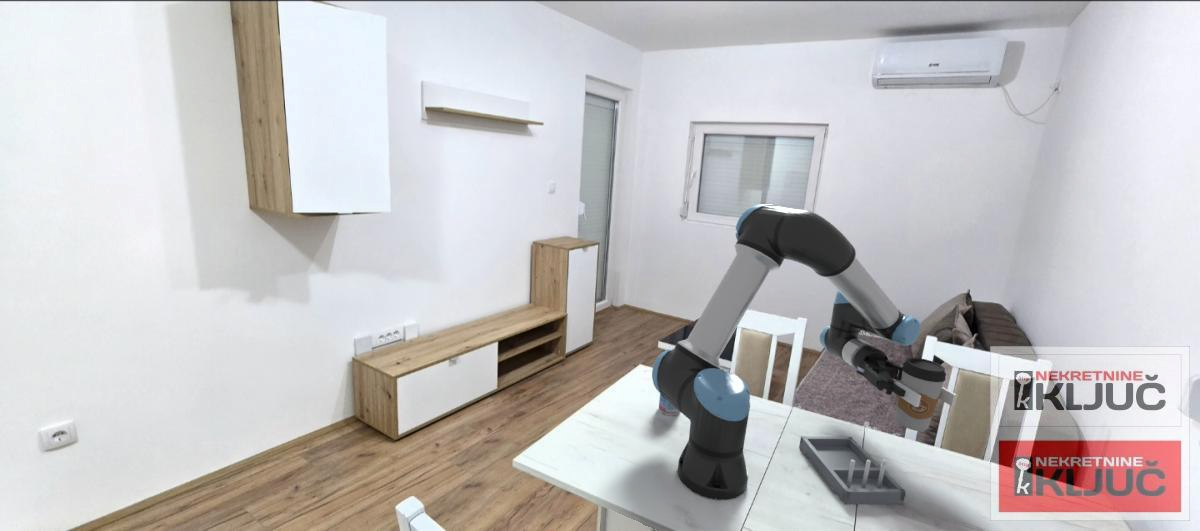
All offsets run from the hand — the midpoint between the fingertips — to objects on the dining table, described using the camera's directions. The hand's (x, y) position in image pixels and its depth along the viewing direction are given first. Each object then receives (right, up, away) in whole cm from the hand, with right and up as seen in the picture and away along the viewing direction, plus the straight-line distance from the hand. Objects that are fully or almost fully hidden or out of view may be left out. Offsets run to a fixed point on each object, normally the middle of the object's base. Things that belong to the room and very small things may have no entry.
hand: (936, 400), depth 104 cm
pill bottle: (-54, -11, +29) cm, 62 cm away
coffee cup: (-1, -7, +6) cm, 10 cm away
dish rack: (-17, -18, +6) cm, 25 cm away
